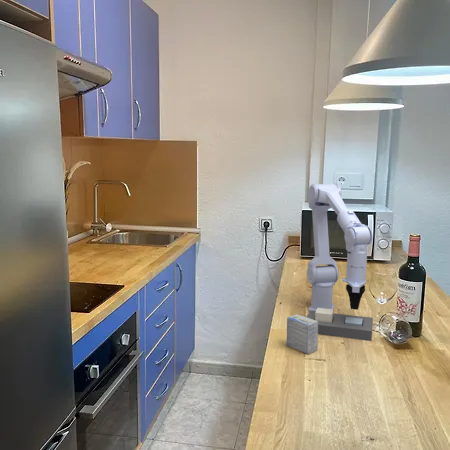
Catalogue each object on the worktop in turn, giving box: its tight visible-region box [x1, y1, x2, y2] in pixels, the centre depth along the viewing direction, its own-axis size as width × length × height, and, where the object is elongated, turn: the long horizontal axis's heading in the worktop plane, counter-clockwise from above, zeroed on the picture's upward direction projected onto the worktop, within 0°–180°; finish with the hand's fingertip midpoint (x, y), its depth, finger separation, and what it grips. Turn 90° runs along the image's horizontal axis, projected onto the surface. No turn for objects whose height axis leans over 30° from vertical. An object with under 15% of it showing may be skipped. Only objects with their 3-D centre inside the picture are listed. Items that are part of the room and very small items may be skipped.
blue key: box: [345, 317, 363, 326], centre depth 144 cm, size 5×5×3 cm
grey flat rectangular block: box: [306, 310, 374, 342], centre depth 145 cm, size 12×20×3 cm, turn 71°
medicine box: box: [286, 313, 319, 355], centre depth 131 cm, size 8×4×9 cm, turn 41°
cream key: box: [315, 308, 334, 323], centre depth 147 cm, size 5×5×3 cm
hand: (354, 308), depth 143 cm, fingers closed
